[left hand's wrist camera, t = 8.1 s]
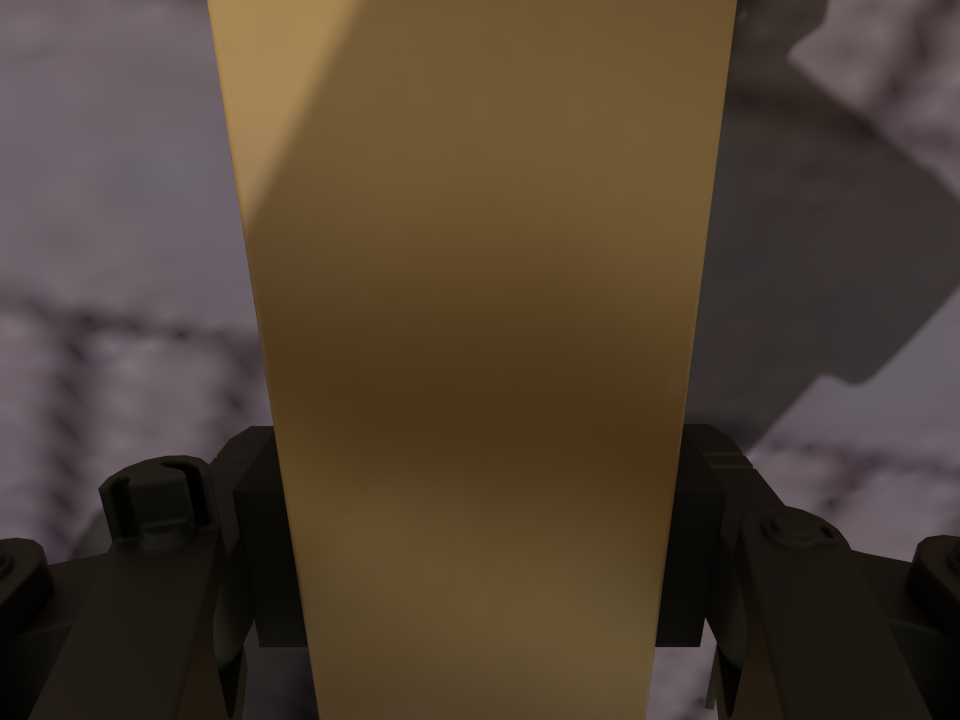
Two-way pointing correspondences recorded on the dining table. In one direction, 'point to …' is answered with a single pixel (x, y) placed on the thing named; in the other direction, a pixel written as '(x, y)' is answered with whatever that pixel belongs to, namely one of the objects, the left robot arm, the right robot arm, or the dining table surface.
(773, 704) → the left robot arm
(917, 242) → the dining table surface
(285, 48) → the bar
